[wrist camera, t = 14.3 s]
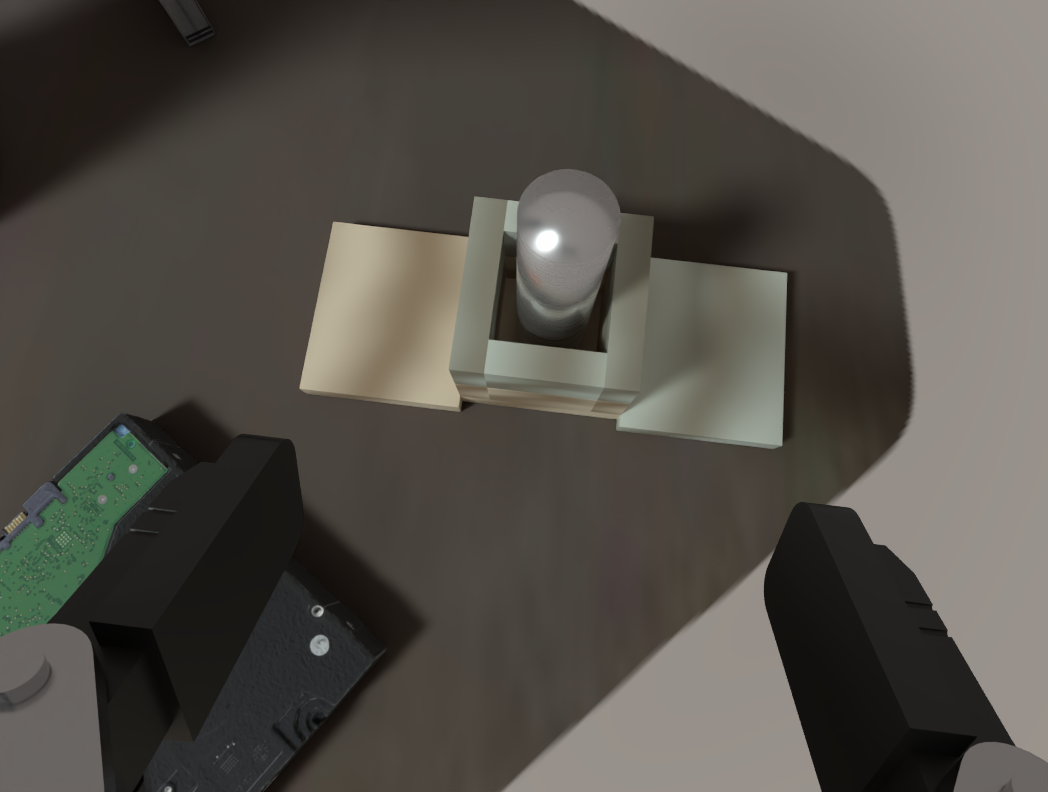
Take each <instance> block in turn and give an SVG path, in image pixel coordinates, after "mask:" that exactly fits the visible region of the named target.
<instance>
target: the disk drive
mask: <svg viewBox="0 0 1048 792" xmlns="http://www.w3.org/2000/svg"><path fill="white" fill-rule="evenodd" d="M197 464H199V463H198V462H197V461H196V460H195V458H193V457H192V456H191V455H190V454H189V453H187V452H186V451H185V450H184V449H183V448H181V447H180V446H178V444H177V443H175V442H174V441H173V440H172V439H171V438H170V437H169V436H168V434H166V433H165V432H164V430H163V429H161V428H160V427H159V426H158V425H157V424H156V423H154V422H152V421H149V420H147V419H143V418H140V417H137V416H133V415H130V414H126V413H120V414H119V415H117V416H116V417H115V418H114V419H113V420H112V421H111V422H110V423H109V424H108V425H107V426H106V427H104V429H103V430H102V431H100V432H99V433H98V435H96V436H95V437H94V438H93V440H91V441H90V442H89V443H88V444H87V445H86V446H85V447H84V448H83V449H82V450H81V451H80V452H79V453H78V454H77V455H76V456H75V457H74V458H72V459H71V460H70V461H69V462H68V464H66V465H65V466H64V467H63V468H62V469H61V470H60V471H59V472H58V473H57V474H56V475H55V476H54V477H53V478H52V479H53V481H49V482H46V483H45V484H44V485H43V486H42V487H40V488H39V489H38V491H37V492H36V493H35V494H34V495H33V496H31V497H30V499H29V500H27V501H26V502H25V503H24V505H23V507H24V508H25V509H26V510H27V512H26V513H25V512H21V513H20V514H18V515H17V516H16V517H15V518H14V519H13V520H12V521H11V522H10V523H9V524H8V525H7V526H6V527H5V528H4V529H2V530H1V532H2V533H3V535H2V536H1V537H0V637H2V636H4V635H6V634H9V633H11V632H14V631H16V630H19V629H23V628H26V627H30V626H35V625H41V624H46V623H47V622H48V621H49V620H50V619H51V618H52V617H53V616H54V615H55V614H56V613H57V612H58V610H59V609H60V608H61V607H62V606H63V605H64V603H65V602H66V601H67V600H68V599H69V598H70V597H71V595H72V594H73V593H74V592H75V591H76V590H77V588H78V587H79V586H80V585H81V584H82V583H83V581H84V580H85V579H86V578H87V577H88V576H89V575H90V573H91V572H92V571H93V570H94V569H95V568H96V566H97V565H98V564H99V563H100V562H101V561H102V560H103V558H104V557H105V556H106V555H107V554H108V553H109V551H110V550H111V549H112V548H113V547H114V546H115V544H116V543H117V542H118V541H119V540H120V539H121V538H122V536H123V535H124V534H125V533H126V534H128V533H129V532H130V527H131V526H132V525H133V524H134V523H135V521H136V520H137V519H138V518H139V517H140V516H141V514H142V513H143V512H147V511H148V506H149V505H150V504H151V503H152V502H153V501H154V499H155V498H156V497H157V496H158V495H159V494H160V492H161V491H162V490H163V489H164V488H165V487H166V486H167V484H168V483H169V482H170V481H172V480H173V479H175V478H176V477H178V476H179V475H181V474H183V473H184V472H186V471H187V470H189V469H191V468H192V467H194V466H195V465H197ZM385 651H386V646H385V644H384V643H382V642H381V641H379V640H378V638H377V637H376V636H375V635H373V634H372V632H371V631H370V630H369V629H367V628H366V627H365V624H364V623H363V622H362V621H361V620H360V619H359V618H358V617H357V616H356V615H355V614H354V612H353V611H352V610H351V609H350V608H348V607H347V606H346V605H345V604H344V603H343V602H340V601H338V600H337V599H336V598H335V597H334V596H333V594H331V593H330V592H329V591H328V590H327V589H326V588H325V587H324V586H323V585H322V584H321V583H320V582H318V581H317V580H316V579H315V578H314V577H313V575H312V574H311V573H310V572H309V571H307V570H306V569H305V568H304V567H303V566H302V565H301V564H300V563H299V562H298V561H297V560H296V559H295V558H294V557H293V556H292V557H291V559H290V561H289V563H288V565H287V567H286V569H285V571H284V572H283V574H282V576H281V578H280V580H279V582H278V584H277V586H276V588H275V589H274V591H273V593H272V595H271V597H270V599H269V601H268V603H267V605H266V607H265V608H264V610H263V612H262V614H261V616H260V618H259V620H258V622H257V624H256V626H255V627H254V629H253V631H252V633H251V635H250V637H249V639H248V641H247V643H246V645H245V646H244V648H243V650H242V652H241V654H240V656H239V658H238V660H237V662H236V664H235V665H234V667H233V669H232V671H231V673H230V675H229V677H228V679H227V681H226V683H225V684H224V686H223V688H222V690H221V692H220V694H219V696H218V698H217V700H216V702H215V703H214V705H213V707H212V709H211V711H210V713H209V715H208V717H207V719H206V721H205V722H204V724H203V726H202V728H201V730H200V732H199V734H198V736H197V738H196V740H195V741H194V743H190V742H183V741H175V740H167V739H163V740H162V742H161V744H160V746H159V747H158V749H157V751H156V753H155V754H154V756H153V758H152V760H151V761H150V763H149V765H148V769H149V773H150V779H151V786H152V792H264V791H265V790H266V789H267V788H268V787H269V786H270V785H271V784H272V782H273V781H274V780H275V779H276V778H277V777H278V776H279V775H280V773H281V772H282V771H283V770H284V769H285V768H286V767H287V765H288V764H289V763H290V762H291V761H292V760H293V758H294V757H295V756H296V755H297V753H298V752H299V751H300V750H301V749H302V748H303V747H304V746H305V744H306V743H307V742H308V741H309V740H310V739H311V737H312V736H313V735H314V734H315V733H316V732H317V730H318V729H319V728H320V727H321V726H322V725H323V724H324V723H325V721H326V720H327V719H328V718H329V717H330V716H331V715H332V713H333V712H334V711H335V710H336V709H337V708H338V707H339V705H340V704H341V703H342V702H343V701H344V700H345V699H346V697H347V696H348V695H349V694H350V693H351V692H352V691H353V689H354V688H355V687H356V685H357V684H358V683H359V682H360V681H361V679H362V678H363V677H364V676H365V675H366V674H367V672H368V671H369V670H370V669H371V668H372V667H373V666H374V664H375V663H376V662H377V661H378V660H379V659H380V658H381V656H382V655H383V654H384V653H385Z"/></svg>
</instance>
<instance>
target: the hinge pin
mask: <svg viewBox="0 0 1048 792" xmlns="http://www.w3.org/2000/svg"><path fill="white" fill-rule="evenodd" d="M620 218H621V215H620V208H619V204H618V202H617V199H616V197H615V195H614V194H613V192H612V191H611V189H610V188H609V187H608V186H607V185H606V184H605V183H604V182H603V181H601V180H600V179H599V178H597V177H595V176H593V175H591V174H589V173H586V172H583V171H579V170H572V169H563V170H556V171H552V172H549V173H546V174H544V175H542V176H540V177H538V178H537V179H536V180H534V181H533V182H532V183H531V184H530V185H529V186H528V187H527V188H526V190H525V191H524V192H523V194H522V196H521V198H520V201H519V204H518V208H517V273H516V335H517V339H518V342H519V343H523V344H531V345H540V346H548V347H557V348H566V349H574V350H577V349H578V348H579V346H580V344H581V342H582V339H583V336H584V333H585V330H586V327H587V324H588V321H589V318H590V315H591V312H592V309H593V306H594V303H595V300H596V297H597V294H598V291H599V288H600V285H601V281H602V278H603V275H604V272H605V269H606V266H607V263H608V260H609V257H610V254H611V251H612V248H613V245H614V242H615V239H616V236H617V233H618V230H619V227H620Z"/></svg>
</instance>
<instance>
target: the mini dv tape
mask: <svg viewBox="0 0 1048 792" xmlns="http://www.w3.org/2000/svg"><path fill="white" fill-rule="evenodd" d="M158 1H159V3H160V4H161V6H162V7H163V9H164V10H165V12H166V13H167V15H168V16H169V18H170V19H171V21H172V22H173V24H174V25H175V27H176V28H177V29H178V31H179V32H180V34H181V35H182V37H183V38H184V40H185V41H186V43H187V44H188V46H189V47H190V46H192V45H194V44H197V43H199V42H201V41H203V40H205V39H207V38H209V37H211V36H213V35H215V34H216V33H215V31H214V30H213V28H212V26H211V25H210V23H209V21H208V20H207V18H206V16H205V14H204V13H203V11H202V9H201V8H200V6H199V4H198V2H197V1H196V0H158Z"/></svg>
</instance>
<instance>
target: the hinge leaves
mask: <svg viewBox="0 0 1048 792" xmlns="http://www.w3.org/2000/svg"><path fill="white" fill-rule="evenodd" d="M518 204H519V201H510V200H501V199H492V198H483V197H475V198H474V204H473V211H472V217H471V224H470V231H469V237H464V236H455V235H446V234H437V233H428V232H420V231H411V230H402V229H393V228H384V227H375V226H366V225H357V224H349V223H340V222H333V226H332V231H331V236H330V241H329V246H328V251H327V256H326V260H325V265H324V270H323V275H322V280H321V285H320V290H319V295H318V300H317V305H316V309H315V314H314V319H313V324H312V329H311V334H310V339H309V344H308V349H307V354H306V358H305V363H304V368H303V373H302V378H301V383H300V388H299V389H301V390H302V391H304V392H305V393H307V394H314V395H323V396H331V397H339V398H348V399H356V400H365V401H373V402H382V403H390V404H399V405H407V406H415V407H424V408H432V409H441V410H449V411H458V412H461V407H462V401H466V402H474V403H483V404H491V405H500V406H508V407H517V408H525V409H534V410H542V411H551V412H559V413H568V414H576V415H585V416H593V417H601V418H610V419H617V425H616V430H618V431H626V432H635V433H643V434H652V435H660V436H669V437H677V438H685V439H694V440H702V441H711V442H719V443H728V444H736V445H745V446H753V447H761V448H770V449H774V448H777V447H780V446H782V435H783V400H784V365H785V331H786V296H787V273H783V272H775V271H766V270H757V269H748V268H739V267H730V266H721V265H712V264H704V263H695V262H686V261H677V260H668V259H659V258H651V250H652V237H653V225H654V216H645V215H636V214H627V213H620V215H621V218H620V227H619V230H618V233H617V236H616V239H615V242H614V245H613V248H612V251H611V254H610V257H609V260H608V263H607V266H606V269H605V272H604V275H603V278H602V281H601V285H600V288H599V291H598V294H597V297H596V300H595V303H594V306H593V309H592V312H591V315H590V318H589V321H588V324H587V327H586V330H585V333H584V336H583V339H582V342H581V344H580V346H579V348H578V349H577V350H574V349H566V348H557V347H548V346H540V345H531V344H523V343H519V342H518V339H517V335H516V273H517V208H518Z"/></svg>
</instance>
